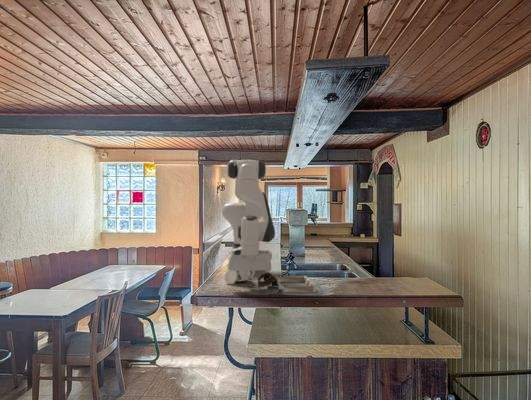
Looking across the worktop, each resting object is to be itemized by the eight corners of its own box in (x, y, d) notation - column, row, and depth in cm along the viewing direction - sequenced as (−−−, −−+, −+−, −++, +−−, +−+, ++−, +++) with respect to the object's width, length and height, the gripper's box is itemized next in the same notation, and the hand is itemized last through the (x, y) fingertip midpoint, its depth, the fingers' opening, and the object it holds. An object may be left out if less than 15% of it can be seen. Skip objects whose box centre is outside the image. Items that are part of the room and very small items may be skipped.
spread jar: (251, 280, 179) (251, 257, 179) (247, 285, 168) (247, 261, 168) (227, 279, 180) (228, 256, 180) (223, 284, 169) (223, 260, 169)
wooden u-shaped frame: (277, 281, 176) (277, 275, 176) (305, 281, 178) (306, 275, 178) (283, 292, 156) (283, 285, 156) (315, 291, 158) (316, 284, 158)
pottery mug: (282, 291, 160) (275, 277, 158) (264, 300, 160) (256, 286, 157) (276, 278, 172) (269, 265, 169) (258, 287, 171) (252, 274, 168)
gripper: (271, 249, 168) (270, 278, 168) (228, 249, 166) (228, 278, 166) (272, 251, 162) (272, 281, 162) (228, 251, 160) (228, 281, 160)
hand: (249, 280), depth 164 cm, fingers closed
